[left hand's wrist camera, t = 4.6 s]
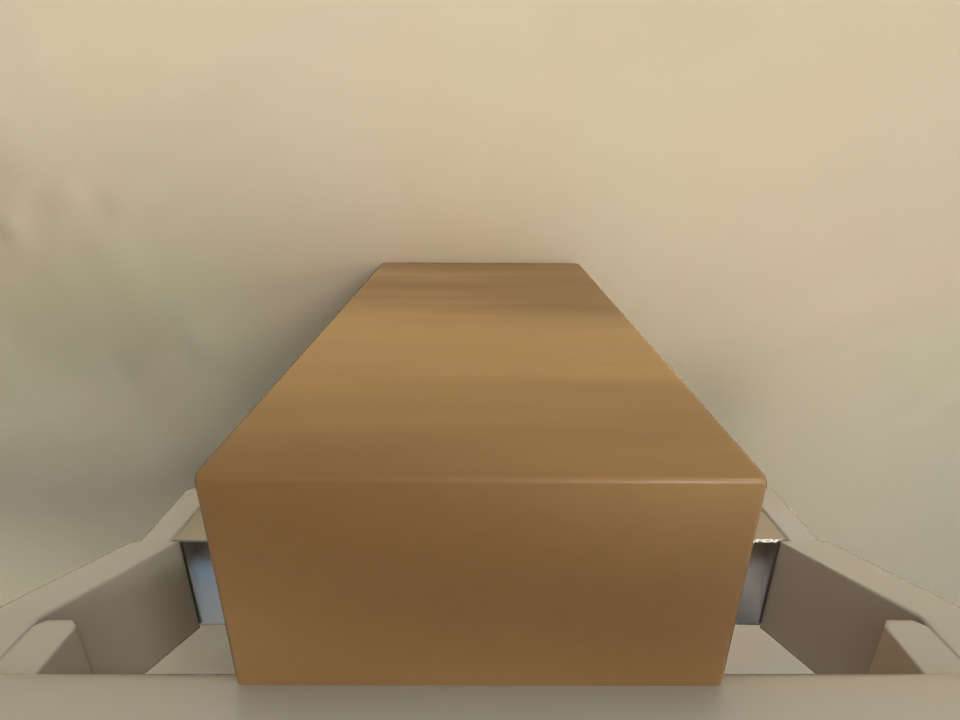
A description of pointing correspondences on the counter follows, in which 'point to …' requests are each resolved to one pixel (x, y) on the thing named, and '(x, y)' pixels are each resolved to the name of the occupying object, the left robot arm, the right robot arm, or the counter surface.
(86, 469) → the counter surface
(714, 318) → the counter surface
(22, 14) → the counter surface
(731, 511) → the bar
